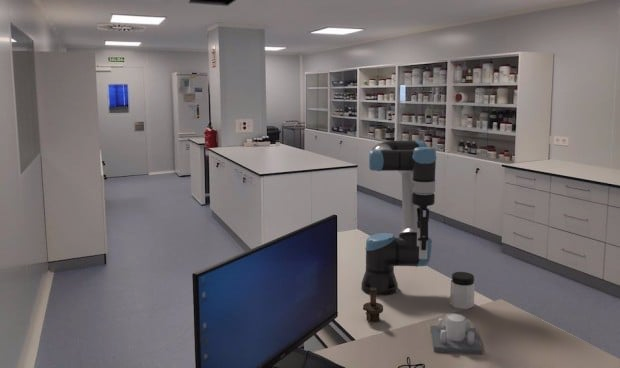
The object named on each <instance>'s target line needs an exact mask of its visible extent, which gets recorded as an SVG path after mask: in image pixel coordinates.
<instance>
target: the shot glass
mask: <svg viewBox="0 0 620 368" xmlns="http://www.w3.org/2000/svg"><path fill="white" fill-rule="evenodd" d="M444 320H445V326H446V331H447V338H448V339H450V340H452V341H462V340H463V339H464V336H465V329H466V322H467V320H468V318H467V317H466V315H464V314H460V313H447V314H446V315H445V317H444Z"/></svg>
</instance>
